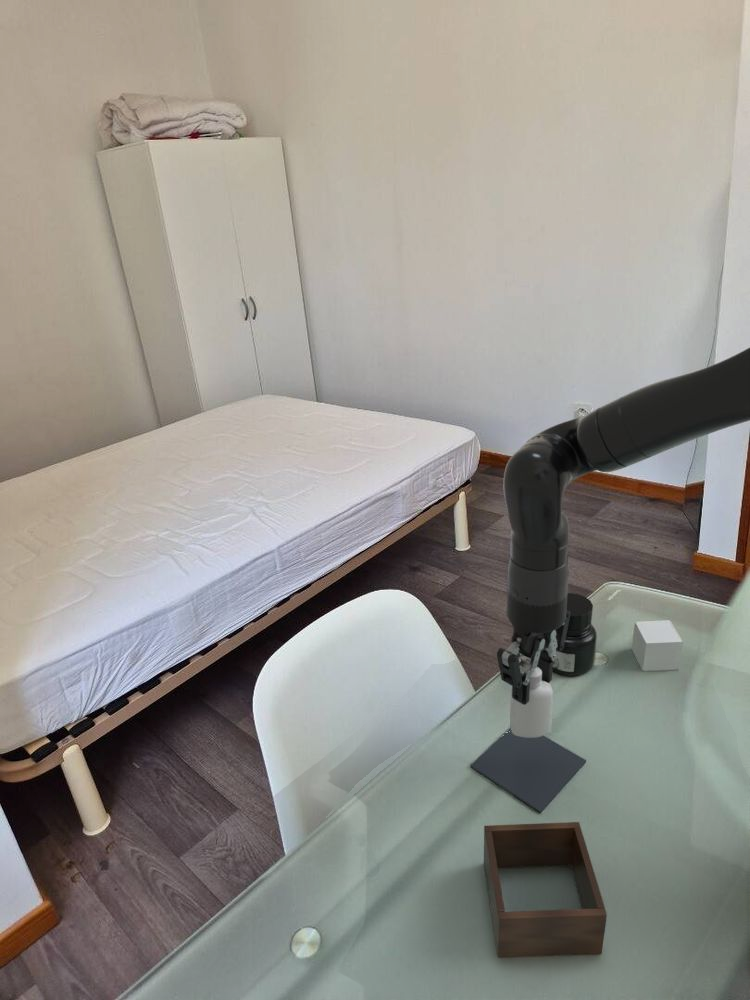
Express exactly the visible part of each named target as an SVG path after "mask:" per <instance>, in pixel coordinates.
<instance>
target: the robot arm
mask: <svg viewBox="0 0 750 1000" xmlns="http://www.w3.org/2000/svg"><path fill="white" fill-rule="evenodd" d="M747 422H750V346H749V347H747V348H746V349H744V350H742V351H740V352H738V353H736V354H735V355H732V356H730V357H728V358H726V359H723V360H721V361H720V362H716V363H714V364H711V365H710V366H707V367H704V368H701V369H699V370H694V371H693V372H688V373H684V374H680V375H677V376H673V377H670V378H667V379H662V380H659V381H656V382H653V383H651V384H647V385H645V386H643V387H640V388H637V389H636V390H633V391H630V392H629V393H627V394H624V395H623V396H621V397H617V398H616V399H615V400H612V401H610V402H608V403H606V404H604V405H602V406H599V407H598V408H596V409H593V410H592V411H591V412H589V413H587V414H586V415H582V416H579V417H574V418H572V419H570V420H569V419H568V420H566V421H563V422H561V423H558V424H555V425H553V426H551V427H548V428H545V429H544V430H541V431H540V432H538V433H536V434H534V435H533V436H532V437H530V438H529V439H528V440H527V441H526V442H525V443H524V444H523V445H522V446H521V447H520V448H519V449H517V450H516V451H515V453H513V454H512V455H511V456H510V458H509V459H508V461H507V463H506V466H505V469H504V473H503V481H502V482H503V483H502V486H503V487H502V489H503V497H504V502H505V508H506V512H507V517H508V520H509V524H510V543H509V544H510V545H509V560H508V565H507V579H506V580H507V581H506V582H507V584H506V617H507V619H508V621H509V623H510V624H511V626H512V628H513V631H512V635H511V638H510V642H511V644H510V645H509V646H508V648H507V649H504V648H502V647H500V648H498V650H497V652H496V659H497V664H498V668H499V673H500V678H501V681H503V682H504V683H506V684H508V685H510V686H511V688H512V698H513V699H515V700H516V701H518V702H520V703H522V704H523V705H525V704H527V703H528V702H529V691H530V682H529V681H530V677H531V673H532V670H533V669H535V668H536V667H539V668H540V669H541V671H542V681H545V682H547V683H549V684H550V682H551V681H552V680H553V672H554V671H553V661H554V660H555V659H556V657H557V650H559V651H561V650H562V649H563V648H564V644H565V639H566V634H567V629H568V624H569V619H570V614H571V613H570V612H569V611H567V610H566V609H567V595H568V593H569V579H570V571H569V570H570V569H569V548H570V533H571V532H570V531H571V530H570V523H569V520H568V517H567V515H565V514H564V513H563V510H562V509H563V508H562V507H563V505H562V504H563V497H564V493H565V491H566V489H567V488H568V487H569V485H570V484H571V483H572V482H574V481H575V480H576V479H579V478H580V477H583V476H585V475H587V474H591V473H593V472H595V471H598V472H601V473H612V472H615V471H619V470H622V469H625V468H626V467H630V466H632V465H634V464H637V463H640V462H642V461H644V460H647V459H649V458H652V457H654V456H656V455H658V454H661V453H663V452H666V451H668V450H671V449H673V448H676V447H678V446H681V445H683V444H686V443H688V442H690V441H691V442H692V441H694V440H695V439H698V438H702V437H704V436H706V435H710V434H713V433H715V432H718V431H721V430H724V429H727V428H730V427H733V426H734V427H735V426H736V425H740V424H743V423H747ZM556 633H557V634H558V635H559V638H558V640H556V635H557V634H556ZM529 659H530V660H529ZM521 667H522V668H523V672H522V671H521ZM524 669H525V671H524Z"/></svg>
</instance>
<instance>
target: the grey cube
mask: <svg viewBox="0 0 750 1000" xmlns="http://www.w3.org/2000/svg"><path fill="white" fill-rule="evenodd" d="M683 643H684V641H683V640H682V638H681V636H680V635H679V633H678V631H677V630H676V628H675V626H674V625H673V623H672V622H671V620H668V619H666V620H647V621H646V620H642V621H634V626H633V634H632V642H631V651H632V653H633V655H634V657H635V659H636V661H637V663H638V665H639V667H640V669H641V671H642V672H657V671H659V672H661V671H678V670H679V667H680V662H681V655H682V648H683Z"/></svg>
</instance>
